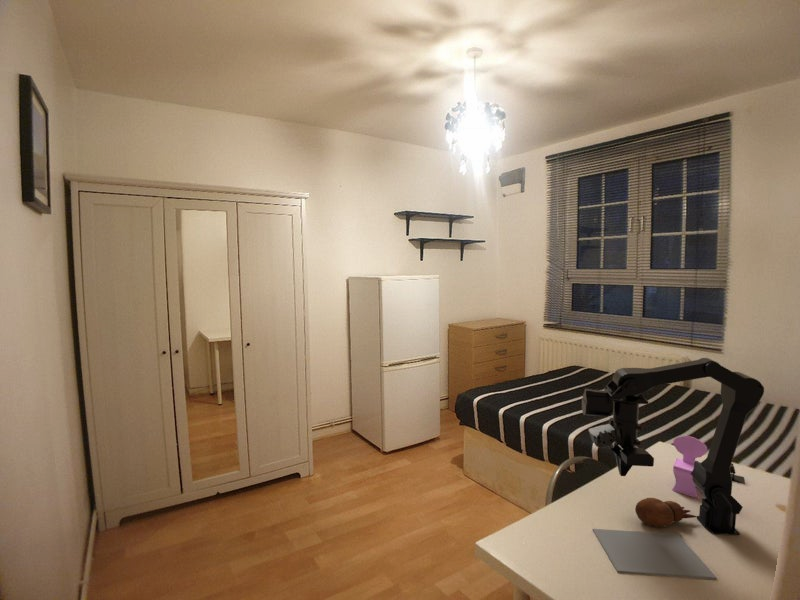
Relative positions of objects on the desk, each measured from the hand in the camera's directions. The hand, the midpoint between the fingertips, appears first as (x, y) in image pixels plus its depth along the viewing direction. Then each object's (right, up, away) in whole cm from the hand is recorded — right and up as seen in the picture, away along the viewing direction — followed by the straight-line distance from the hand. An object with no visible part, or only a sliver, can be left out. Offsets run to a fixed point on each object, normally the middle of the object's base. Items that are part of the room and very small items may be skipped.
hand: (622, 475), depth 107 cm
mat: (-1, -12, -14) cm, 18 cm away
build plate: (+43, -10, +21) cm, 49 cm away
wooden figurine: (+2, -8, -4) cm, 9 cm away
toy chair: (+26, -10, +13) cm, 31 cm away
